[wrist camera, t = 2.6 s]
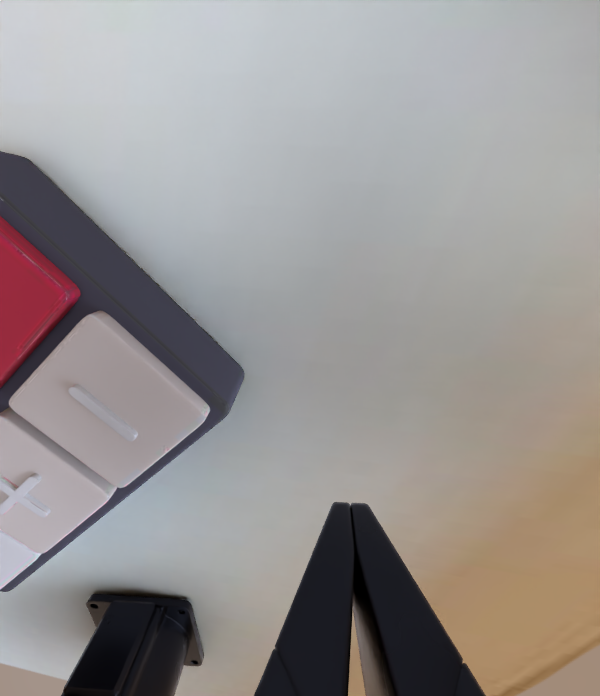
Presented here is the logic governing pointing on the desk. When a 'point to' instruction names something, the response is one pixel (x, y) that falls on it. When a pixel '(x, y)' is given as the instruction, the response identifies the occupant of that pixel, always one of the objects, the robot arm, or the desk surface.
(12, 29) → the desk surface
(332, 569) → the robot arm
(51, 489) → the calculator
